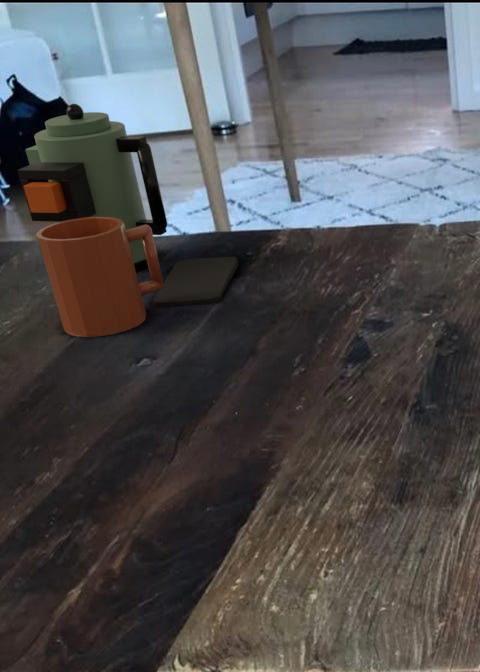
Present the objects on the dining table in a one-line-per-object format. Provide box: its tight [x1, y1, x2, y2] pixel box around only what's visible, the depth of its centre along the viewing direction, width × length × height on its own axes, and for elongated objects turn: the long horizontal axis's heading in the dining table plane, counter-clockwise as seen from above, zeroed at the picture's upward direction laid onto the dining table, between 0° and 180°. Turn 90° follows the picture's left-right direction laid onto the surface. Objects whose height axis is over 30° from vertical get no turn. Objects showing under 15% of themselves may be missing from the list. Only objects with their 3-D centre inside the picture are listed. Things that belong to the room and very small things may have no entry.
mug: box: [35, 216, 164, 338], centre depth 115 cm, size 12×8×10 cm
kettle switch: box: [24, 182, 68, 213], centre depth 123 cm, size 4×2×3 cm, turn 72°
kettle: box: [17, 103, 168, 273], centre depth 129 cm, size 16×14×18 cm
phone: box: [152, 256, 239, 307], centre depth 126 cm, size 7×1×15 cm
